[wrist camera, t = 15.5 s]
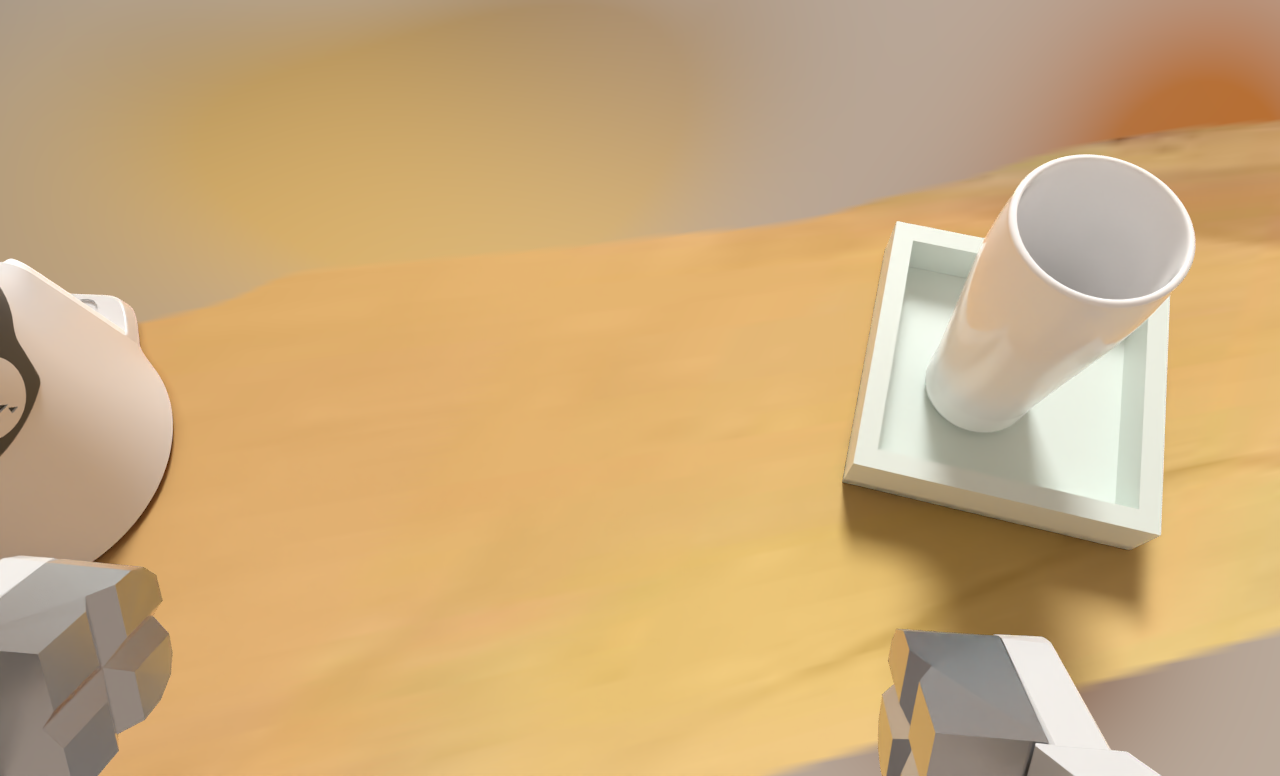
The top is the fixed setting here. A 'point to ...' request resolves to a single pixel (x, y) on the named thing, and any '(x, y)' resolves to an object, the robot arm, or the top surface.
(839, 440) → the top surface
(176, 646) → the top surface
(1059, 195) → the white tall cup
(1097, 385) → the tray
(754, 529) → the top surface
